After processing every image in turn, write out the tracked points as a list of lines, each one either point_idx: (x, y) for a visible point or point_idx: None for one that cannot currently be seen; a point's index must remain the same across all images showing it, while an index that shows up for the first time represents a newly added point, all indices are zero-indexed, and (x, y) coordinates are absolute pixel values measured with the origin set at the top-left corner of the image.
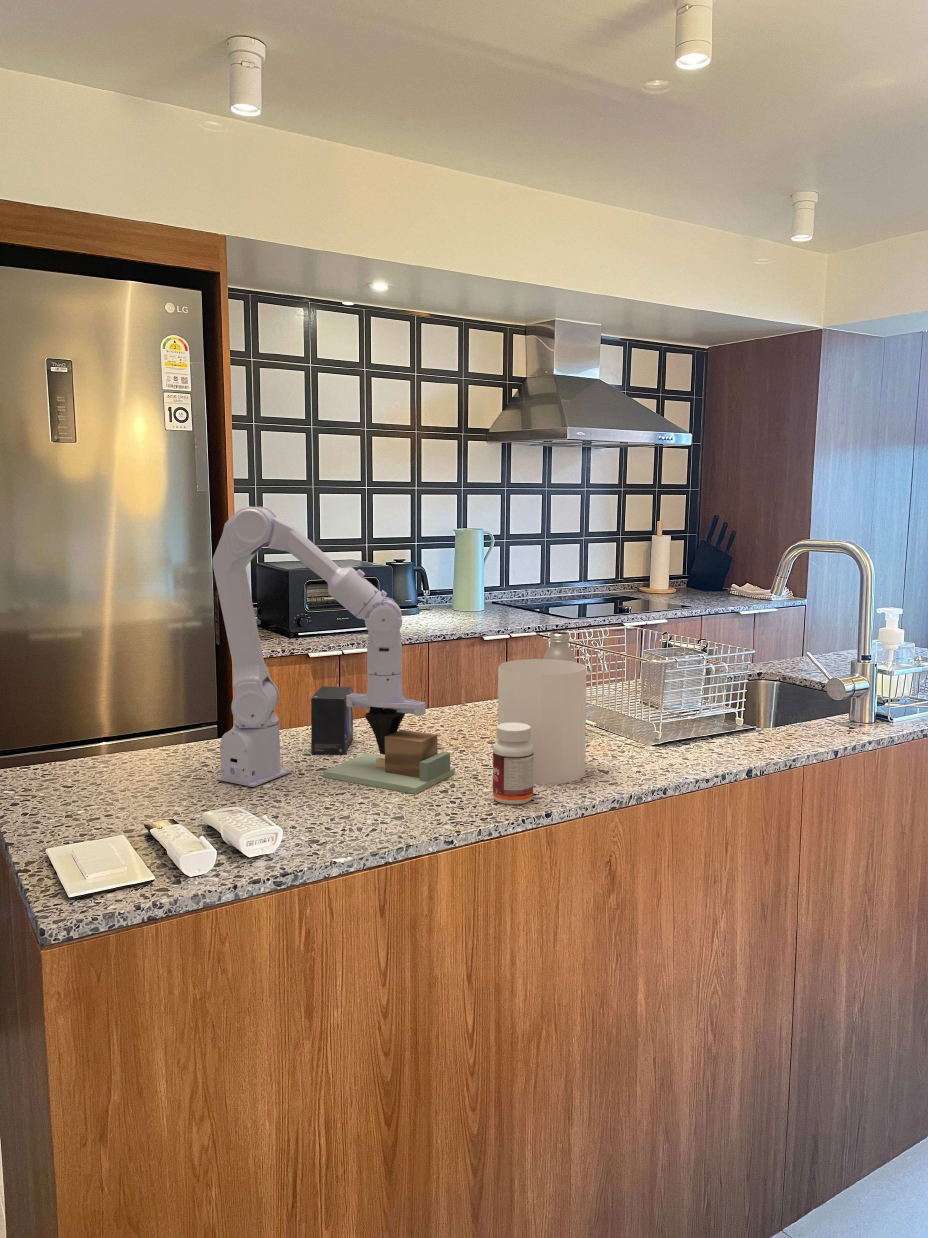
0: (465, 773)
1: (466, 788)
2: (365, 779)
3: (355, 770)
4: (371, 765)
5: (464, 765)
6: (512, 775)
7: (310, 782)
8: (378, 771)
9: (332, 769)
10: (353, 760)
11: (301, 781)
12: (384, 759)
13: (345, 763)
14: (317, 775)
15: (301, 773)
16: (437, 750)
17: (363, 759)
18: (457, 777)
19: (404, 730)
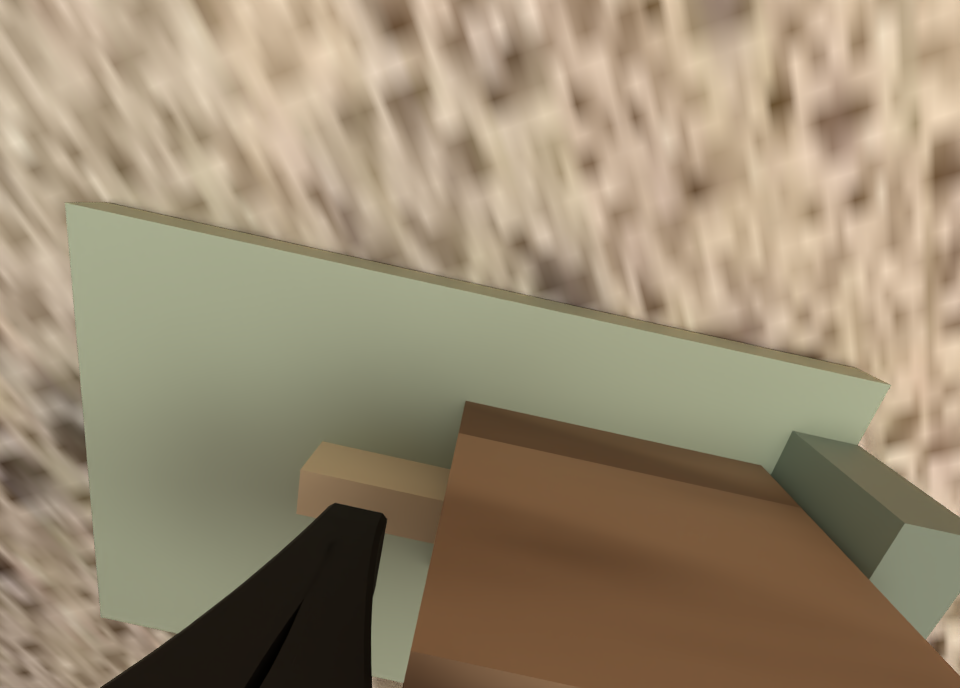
0: (938, 331)
1: None
2: (381, 676)
3: (249, 575)
4: (280, 471)
5: (925, 124)
6: None
7: (127, 655)
8: (384, 565)
9: (121, 584)
10: (107, 402)
11: (82, 651)
12: (356, 504)
13: (106, 471)
14: (80, 568)
15: None
16: (874, 586)
17: (151, 362)
18: (880, 427)
19: (475, 685)
